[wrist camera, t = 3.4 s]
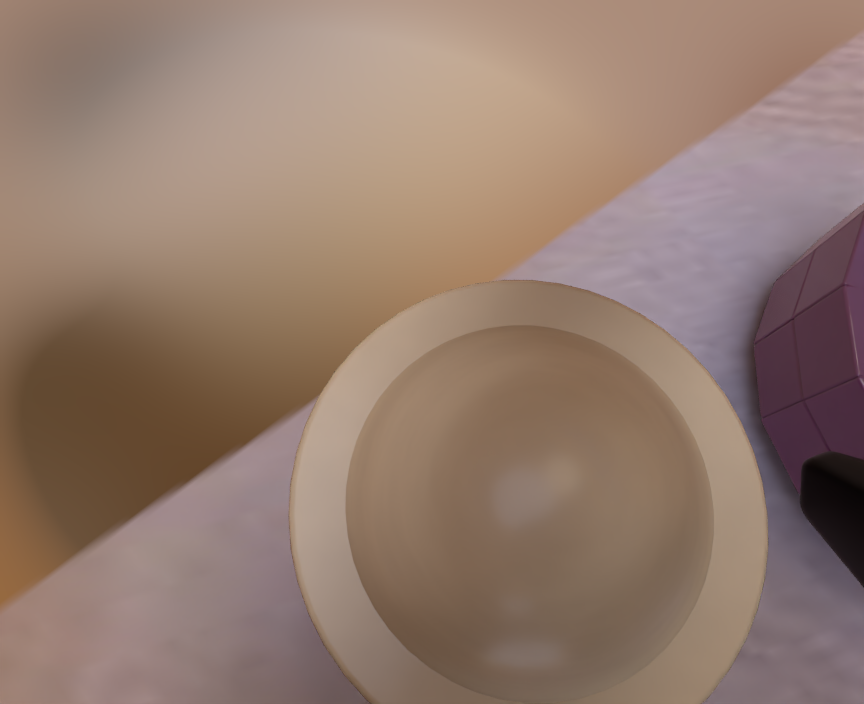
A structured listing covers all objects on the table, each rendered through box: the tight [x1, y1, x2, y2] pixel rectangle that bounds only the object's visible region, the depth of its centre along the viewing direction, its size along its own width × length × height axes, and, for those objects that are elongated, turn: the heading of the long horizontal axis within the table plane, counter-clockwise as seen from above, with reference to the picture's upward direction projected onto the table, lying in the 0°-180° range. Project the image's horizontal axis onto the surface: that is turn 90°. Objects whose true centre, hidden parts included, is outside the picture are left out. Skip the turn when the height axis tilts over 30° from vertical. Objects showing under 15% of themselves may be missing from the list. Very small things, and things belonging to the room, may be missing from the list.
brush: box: [289, 280, 768, 704], centre depth 11 cm, size 5×5×13 cm
